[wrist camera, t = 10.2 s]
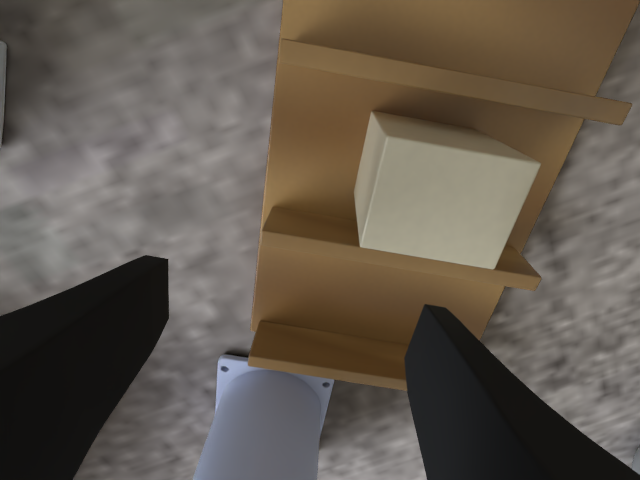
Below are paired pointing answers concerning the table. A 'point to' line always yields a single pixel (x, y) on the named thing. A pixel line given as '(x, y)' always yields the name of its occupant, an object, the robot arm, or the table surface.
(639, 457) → the black rounded egg shape
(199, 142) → the table surface
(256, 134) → the table surface
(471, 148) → the block
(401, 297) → the dish rack
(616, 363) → the table surface
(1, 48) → the syrup box
